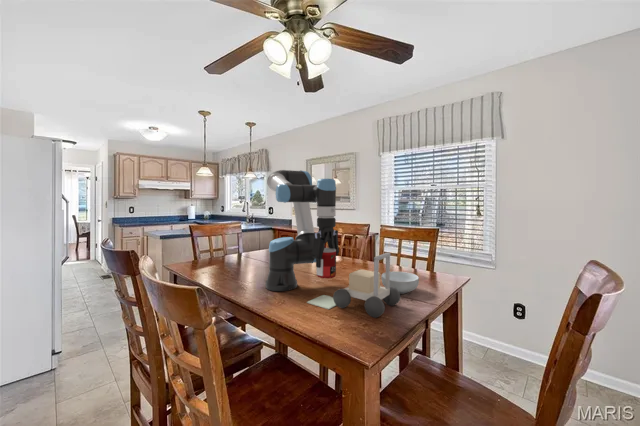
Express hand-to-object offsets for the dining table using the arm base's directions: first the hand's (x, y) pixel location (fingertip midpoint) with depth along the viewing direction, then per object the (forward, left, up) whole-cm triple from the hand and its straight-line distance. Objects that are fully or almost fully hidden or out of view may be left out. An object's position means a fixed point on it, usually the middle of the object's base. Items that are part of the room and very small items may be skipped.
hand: (326, 273), depth 113 cm
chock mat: (0, 0, -12) cm, 12 cm away
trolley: (+15, +7, -12) cm, 20 cm away
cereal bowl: (+18, +33, -12) cm, 40 cm away
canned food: (0, 0, -1) cm, 1 cm away
